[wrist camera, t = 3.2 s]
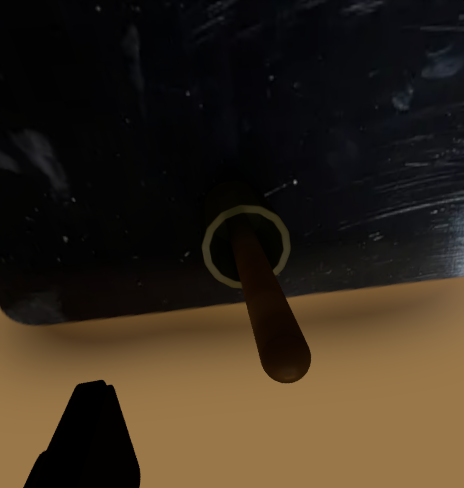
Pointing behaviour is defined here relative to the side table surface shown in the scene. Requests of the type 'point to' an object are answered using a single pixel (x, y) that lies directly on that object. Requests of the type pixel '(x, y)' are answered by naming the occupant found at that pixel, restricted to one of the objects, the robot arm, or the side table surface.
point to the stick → (267, 307)
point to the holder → (261, 218)
